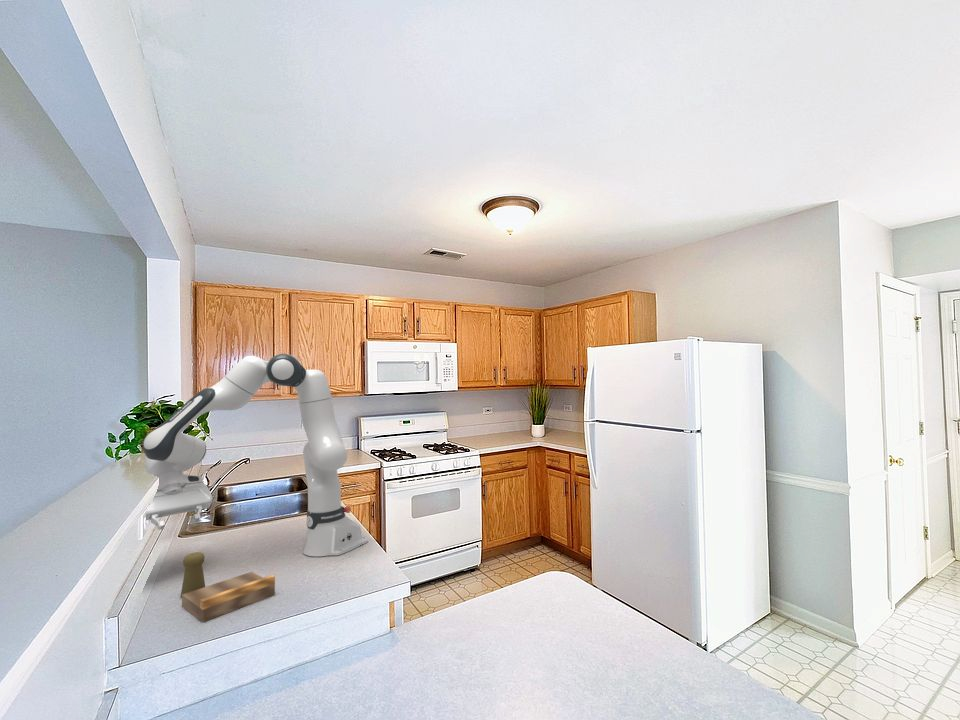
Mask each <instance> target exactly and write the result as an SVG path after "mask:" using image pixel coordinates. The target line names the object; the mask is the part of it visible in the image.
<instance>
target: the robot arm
mask: <svg viewBox="0 0 960 720" xmlns="http://www.w3.org/2000/svg"><path fill="white" fill-rule="evenodd" d="M269 382H270V383H271V382H272V383H273V384H275V385H277V386H278V385H279V386H280V387H292V388H294V389H295V390H296V393H297V399H298V405H299V410H300V417H301V423H302V427H303V429H304V432H305V434H306V438H307V440H308V441H307V442H306V444H305V445H304V447H303V448H302V449H303V450H302V454H303V459H304V468H305V469H304V470H305V476H306V477H305V478H306V482H307V510H306V528H307V530H306V538H305V542H304V543H305V544H304V548H303V550H302V551H303V554H304V555H305V556H308V557H326V556H327V557H329V556H341V555H343V554H345V553H348V552H350V551H352V550H354V549H356V548H358V547H361V546H362V544H363V545H365V544H367V543H368V542H369V538H368V537H367V536H366V535H363V533H362V529H361V526H360V525H359V523H358V522H356V521H354V520H353V519H351V518H350V517H348V516H346V513H347V514H349V513H351V510H352V509H351V507H350V506H342V491H341V490H342V486H341V485H342V484H341V482H340V478H339V473H338V470H339V469H342V467H343V466H344V465H345V464H346V462H347V458H348V452H347V449H346V447H345V446H344V443H343V439H342V435H341V433H340V429H339V426H338V424H337V421H336V420H337V419H336V416H335V415H336V414H335V409H334V405H333V403H334V402H333V398H332V393H331V392H332V391H331V388H330V384H329V382H328V378H327V376H326V373H324V372H323V371H321V370H319V369H315V368H314V369H313V368H312V369H311V368H310V369H307V368H305V367H304V366H303V365H302V363H301V362H300V360H299V358H297V357H296V356H294V355H293V354H289V353H279V354H276V355H274V356H273V357H271V358H270V359H269V360H265V359H262V358H261V357H259V356H256V355H247V356H244V357H243V358H242V359H240V361H238V362H237V363H236V364H235V365H234V366H233V367H231V369H230V370H229V371H228V372H227V373H226V374H225V375H224V376H223V378H221V380H219V381H217V383H215V384H213V385H212V386H210V387H207V388H203V389H201V390H200V391H198V392H196V393H195V395H193V396H192V397H191V398H190V399H188V401H186V402H184V404H183V405H182V406H181V407H180V408H179V409H177V410H176V411H175V412H174V413H172V415H170V417H169V418H168V419H166V420H165V421H164V422H163V423H161V424H160V425H158V426H157V427H154V429H152V430H151V431H150V432H148V434H147V435H145V437H144V439H143V441H142V449H143V453H144V454H145V455H144V456H145V457H144V464H145V470H146V473H149V474H153V475H154V476H157V477H159V486H158V489H157V492H156V494H155V496H154V498H153V501H152V503H151V505H150V507H149V508H148V510H147V512H146V520H145V521H150V523H151V524H153V525H154V526H156V529H157V531H160V530H164V529H165V527H166V525H165V521H164V520H162V521H161V520H160V519H159V518H164V517H168V516H173V515H179V514H182V513H188V512H193V511H194V514H193V516H192V520H193V522H194V523H196V522H200V520H201V512H202V510H203V509H207V508H210V506H211V505H212V503H213V495H212V493H211V491H210V488H209V487H208V486H207V484H205V483H203V480H204V479H203V477H202V476H200V475H193V474H192V475H191V474H186V473H185V474H184V472H186V471H189V470H190V469H191V468H193V467H196V465H198V464H200V462H202V460H203V459H205V456H206V453H207V445H206V442H205V440H204V439H202V438H200V437H197V436H194V435H191V434H187V433H183V432H184V431H185V430H186V429H187V428H188V427H189V426H190V425H192V423H194V422H195V421H196V420H197V419H198V418H199V417H200V416H202V415H204V414H206V413H209V412H213V411H236V410H239V409H242V408H243V407H244V406H246V405H247V404H248V403H249V402H250V401H251V399H252V398H253V397H254V396H255V395H256V393H257V392H258V391H259V390H260V389H261V387H262V386H263V385H265V384H266V383H269ZM195 513H196V514H195ZM360 545H361V546H360Z"/></svg>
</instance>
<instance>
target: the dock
mask: <svg viewBox="0 0 960 720" xmlns="http://www.w3.org/2000/svg"><path fill="white" fill-rule="evenodd" d="M275 595H276V576H275V575H273V574H270V575H268V576H265V577H263V576H261V575H259V574H257V573H255V572H253V571H249V572H247V573H244V574H240V575H238V576H234V577H232V578H228V579H225V580H222V581H219V582H216V583H214V584H213V583H212V584H211V585H208V586H205V587H204V588H201V589H198V590H195V591H192V592H189V593H186V594H183V595H182V598H181V607H182V608H183V609H185V610H186V611H187V612H188V613H190V615H192V616H193V617H195V618H196V619H198V621H200V622H201V623H205V622H207V621H211V620H213V619H216V618H218V617H220V616H223V615H225V614H228V613H231V612H234V611H237V610H239V609H242V608H244V607H247V606H250V605H252V604H254V603H257V602H259V601H262V600H264V599H267V598H269V597H270V598H271V597H273V596H275Z"/></svg>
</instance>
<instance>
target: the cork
mask: <svg viewBox="0 0 960 720" xmlns="http://www.w3.org/2000/svg"><path fill="white" fill-rule="evenodd" d="M204 562H205V554H204V553H203V552H200V551H199V552H197V551H196V552H191V553H187V554H186V555H185V556H184V558H183V559H182V566H183V567H184V572H183V579H182V586H181V591H180V598H181V599H182V595H183V594H186V593H189V592H192V591H195V590H198V589H201V588H204V587H206V581H205V574H204V569H203V563H204Z"/></svg>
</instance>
